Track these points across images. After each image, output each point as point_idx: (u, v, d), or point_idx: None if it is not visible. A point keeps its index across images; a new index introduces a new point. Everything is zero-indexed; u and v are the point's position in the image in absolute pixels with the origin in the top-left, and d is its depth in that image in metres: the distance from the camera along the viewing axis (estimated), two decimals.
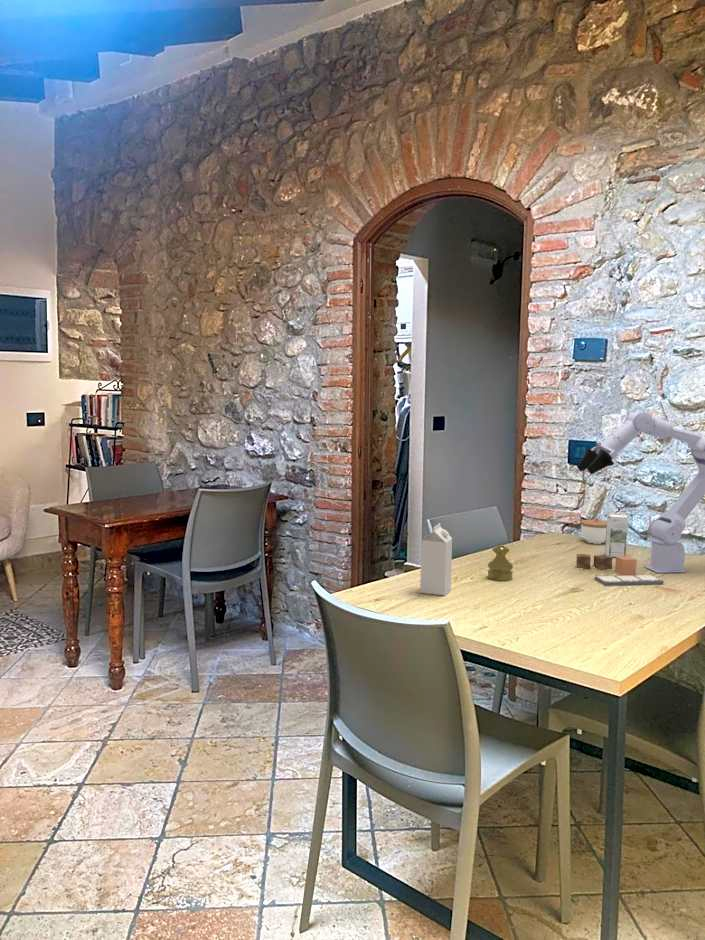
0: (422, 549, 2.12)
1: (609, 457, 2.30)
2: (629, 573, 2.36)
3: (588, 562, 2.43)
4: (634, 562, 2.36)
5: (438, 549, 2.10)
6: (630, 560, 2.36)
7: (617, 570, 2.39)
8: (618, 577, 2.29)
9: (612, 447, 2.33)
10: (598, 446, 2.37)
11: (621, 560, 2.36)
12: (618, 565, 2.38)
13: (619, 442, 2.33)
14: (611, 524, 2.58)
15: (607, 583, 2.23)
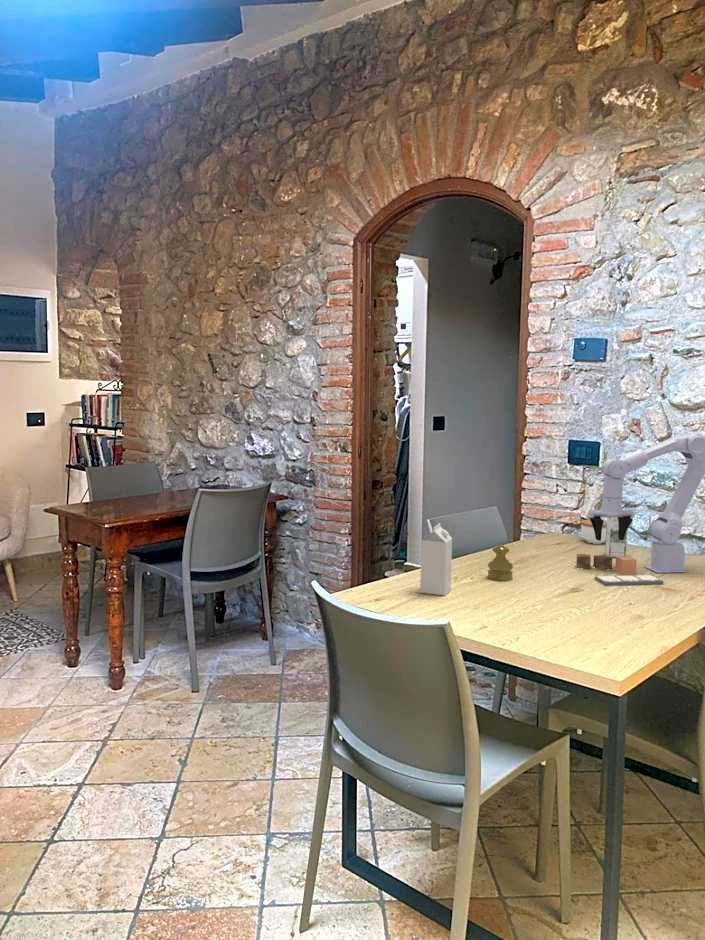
0: (422, 549, 2.12)
1: (592, 518, 2.40)
2: (629, 573, 2.36)
3: (588, 562, 2.43)
4: (634, 562, 2.36)
5: (438, 549, 2.10)
6: (630, 560, 2.36)
7: (617, 570, 2.39)
8: (618, 577, 2.29)
9: (602, 506, 2.41)
10: None
11: (621, 560, 2.36)
12: (618, 565, 2.38)
13: (603, 498, 2.40)
14: (611, 524, 2.58)
15: (607, 583, 2.23)
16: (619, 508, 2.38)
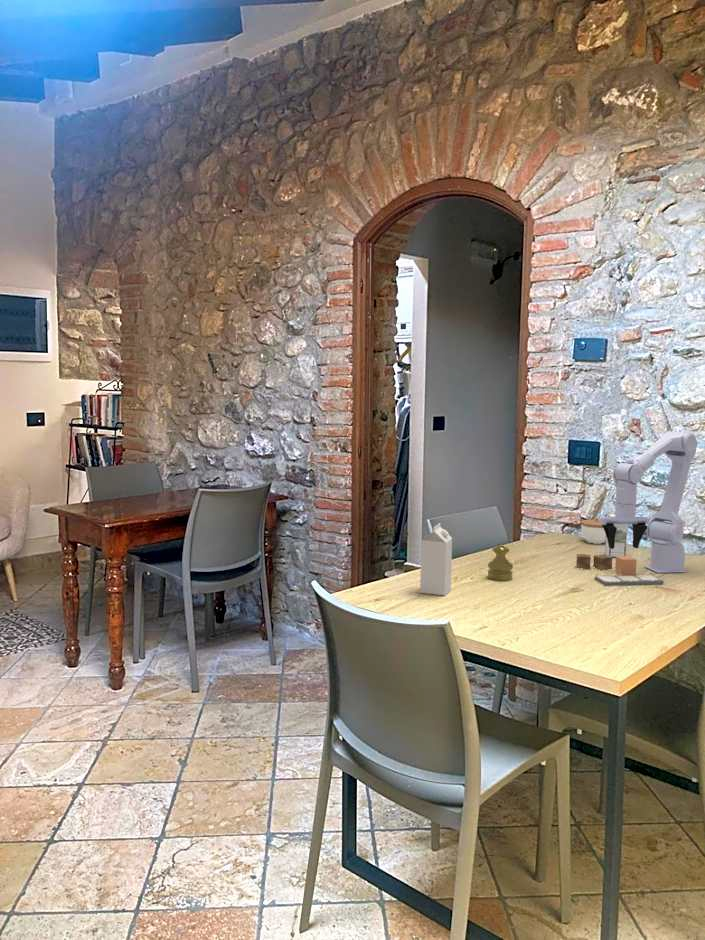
0: (422, 549, 2.12)
1: (605, 525, 2.30)
2: (629, 573, 2.36)
3: (588, 562, 2.43)
4: (634, 562, 2.36)
5: (438, 549, 2.10)
6: (630, 560, 2.36)
7: (617, 570, 2.39)
8: (618, 577, 2.29)
9: (615, 513, 2.30)
10: None
11: (621, 560, 2.36)
12: (618, 565, 2.38)
13: (616, 504, 2.30)
14: None
15: (607, 583, 2.23)
16: (633, 515, 2.28)
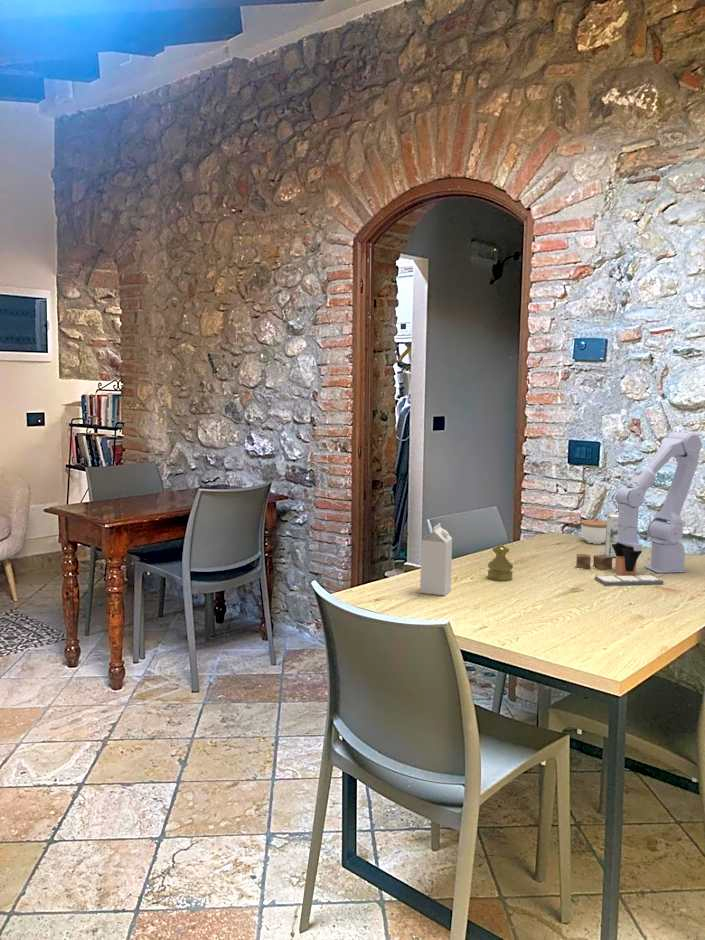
0: (422, 549, 2.12)
1: (634, 550, 2.33)
2: (629, 573, 2.36)
3: (588, 562, 2.43)
4: None
5: (438, 549, 2.10)
6: None
7: (617, 570, 2.39)
8: (618, 577, 2.29)
9: (630, 537, 2.34)
10: None
11: (621, 560, 2.36)
12: (618, 565, 2.38)
13: (631, 529, 2.34)
14: (611, 524, 2.58)
15: (607, 583, 2.23)
16: None
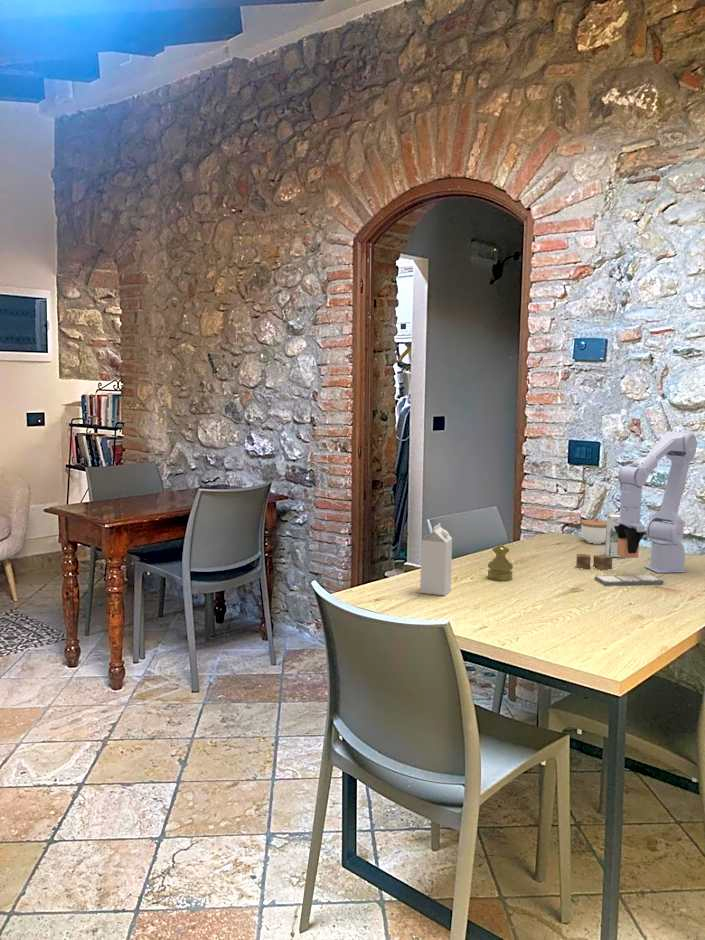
0: (422, 549, 2.12)
1: (637, 531, 2.25)
2: (631, 555, 2.29)
3: (588, 562, 2.43)
4: None
5: (438, 549, 2.10)
6: None
7: (619, 552, 2.31)
8: (618, 577, 2.29)
9: (633, 518, 2.27)
10: None
11: (623, 542, 2.29)
12: (620, 547, 2.31)
13: (634, 509, 2.26)
14: (611, 524, 2.58)
15: (607, 583, 2.23)
16: None
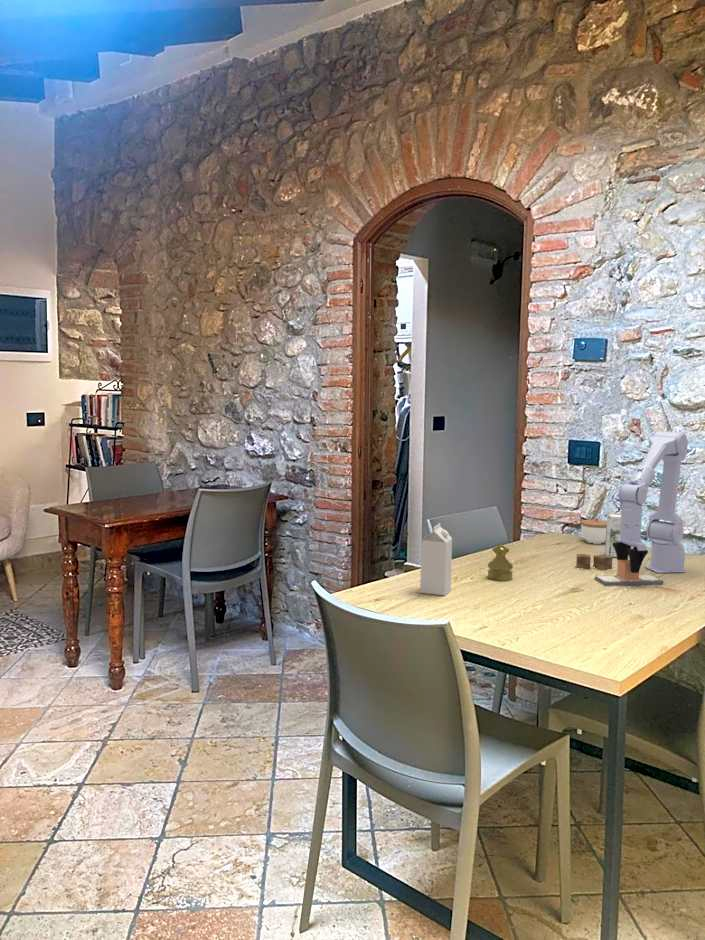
0: (422, 549, 2.12)
1: (640, 551, 2.21)
2: (632, 577, 2.26)
3: (588, 562, 2.43)
4: None
5: (438, 549, 2.10)
6: None
7: (619, 574, 2.29)
8: (618, 577, 2.29)
9: (633, 536, 2.24)
10: None
11: (623, 564, 2.26)
12: (620, 569, 2.28)
13: (634, 527, 2.24)
14: (611, 524, 2.58)
15: (607, 583, 2.23)
16: None
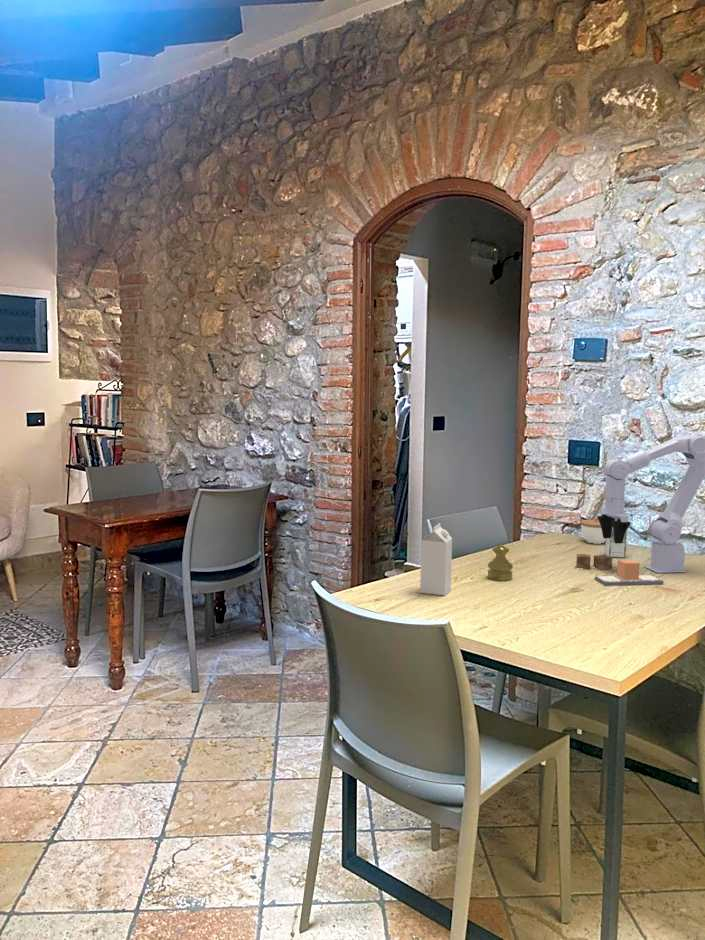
0: (422, 549, 2.12)
1: (623, 522, 2.35)
2: (632, 577, 2.26)
3: (588, 562, 2.43)
4: (637, 566, 2.26)
5: (438, 549, 2.10)
6: (633, 564, 2.26)
7: (619, 574, 2.29)
8: (618, 577, 2.29)
9: (617, 509, 2.38)
10: None
11: (623, 564, 2.26)
12: (620, 569, 2.28)
13: (618, 500, 2.37)
14: None
15: (607, 583, 2.23)
16: None
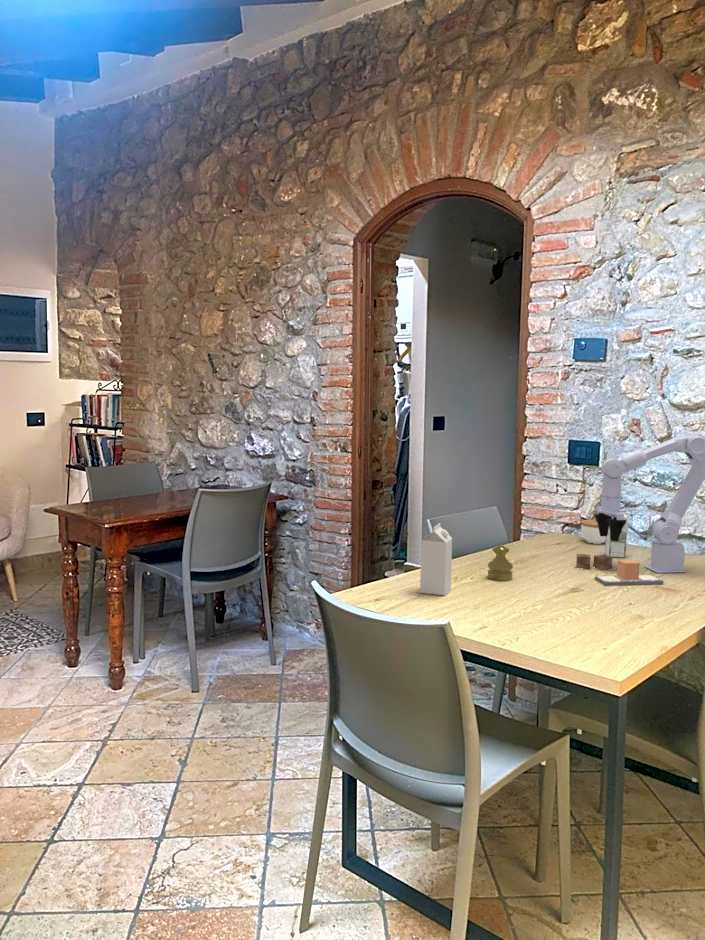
0: (422, 549, 2.12)
1: (619, 520, 2.38)
2: (632, 577, 2.26)
3: (588, 562, 2.43)
4: (637, 566, 2.26)
5: (438, 549, 2.10)
6: (633, 564, 2.26)
7: (619, 574, 2.29)
8: (618, 577, 2.29)
9: (613, 507, 2.41)
10: None
11: (623, 564, 2.26)
12: (620, 569, 2.28)
13: (614, 499, 2.41)
14: None
15: (607, 583, 2.23)
16: None
